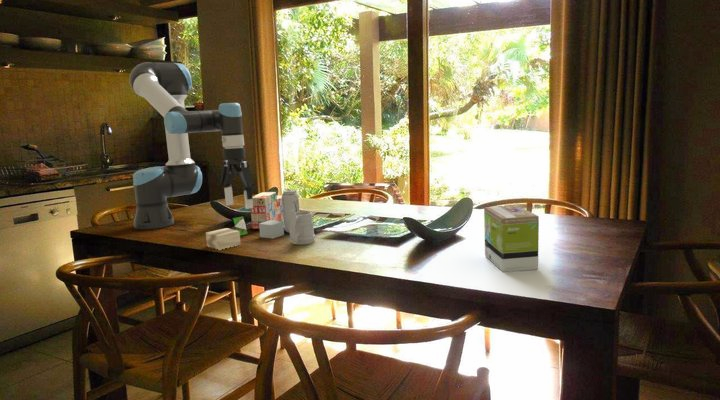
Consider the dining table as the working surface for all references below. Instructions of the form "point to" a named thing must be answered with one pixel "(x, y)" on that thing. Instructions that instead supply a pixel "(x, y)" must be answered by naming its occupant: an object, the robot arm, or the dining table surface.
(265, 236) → the grey block
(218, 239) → the beech block
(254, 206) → the stack of blocks
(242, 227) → the geometric puzzle
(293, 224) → the mug
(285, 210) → the energy drink can
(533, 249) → the tea box
